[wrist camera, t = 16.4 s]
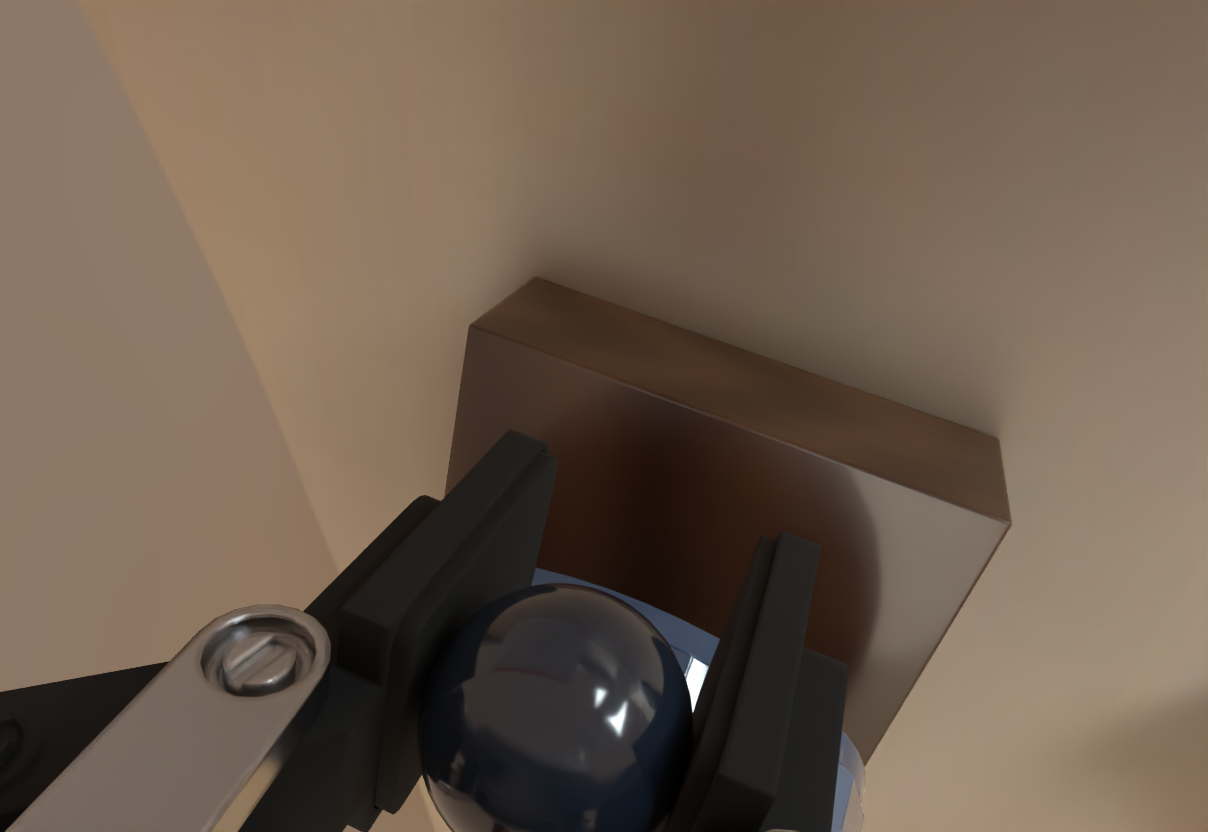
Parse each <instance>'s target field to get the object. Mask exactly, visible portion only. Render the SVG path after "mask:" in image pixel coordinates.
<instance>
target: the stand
mask: <svg viewBox="0 0 1208 832" xmlns="http://www.w3.org/2000/svg"><path fill="white" fill-rule="evenodd" d="M510 429H513V430H516V431H519V432H521V433H524V434H527V435H529V436H532V437H535V438H537V439H540V440H543V441H545V442H547V443H548V444H549V452H548V454H550V455H553V456H556V457H558V459H559V463H558V469H557V473H556V478H555V482H554V487H553V491H552V496H551V500H550V505H549V509H548V514H547V518H546V523H545V527H544V532H543V536H542V541H541V545H540V550H539V554H538V559H537V564H536V568H540V569H544V570H548V571H552V572H556V573H560V574H563V575H567V576H571V577H574V578H577V579H580V580H584V581H587V582H590V583H593V584H596V585H599V586H602V587H605V588H608V589H611V590H613V591H616V592H618V593H621V594H624V595H626V596H629V597H631V598H634V599H637V600H639V601H642V602H644V603H647V604H649V605H651V606H653V607H656V608H658V609H660V610H662V611H664V612H667V613H669V614H671V615H673V616H676V617H678V618H680V619H682V620H684V621H686V622H688V623H690V624H692V625H694V626H696V627H698V628H700V629H702V630H704V631H706V632H708V633H710V634H712V635H714V636H716V637H718V638H719V639H720V638H721V635H722V633H723V630H724V628H725V625H726V622H727V620H728V617H729V615H730V612H731V610H732V607H733V605H734V602H735V600H736V597H737V595H738V592H739V590H740V587H741V585H742V582H743V580H744V577H745V574H746V572H747V569H748V567H749V564H750V562H751V559H752V557H753V554H754V552H755V549H756V547H757V544H758V542H759V539H760V537H761V535H764V536H767V537H770V538H772V539H775V540H776V539H777V537H778V534H779V532H780V531H781V530H782V531H785V532H787V533H790V534H793V535H795V536H798V537H801V538H803V539H806V540H809V541H811V542H814V543H816V544H819V545H821V552H820V557H819V563H818V568H817V574H816V579H815V585H814V590H813V596H812V601H811V607H810V612H809V618H808V624H807V629H806V635H805V640H804V647H806V648H809V649H811V650H814V651H816V652H819V653H821V654H824V655H826V656H829V657H831V658H834V659H836V660H839V661H841V662H844V663H846V664H847V667H848V681H847V690H846V699H845V708H844V718H843V727H842V731H843V732H844V733H845V734H846V735H847V736H848V737H849V739H850V741H851V742H852V744H853V745H854V747H855V748H856V750H857V751H858V753H859V755H860V757H861V760H862V762H863V765H864V767H865V766H866V764H867V762H868V761H869V759H870V757H871V756H872V754H873V753H874V751H875V749H876V748H877V746H878V744H879V743H880V741H881V739H882V738H883V736H884V734H885V733H886V731H887V730H888V728H889V726H890V725H891V723H892V721H893V720H894V718H895V716H896V715H897V713H898V711H899V710H900V708H901V706H902V705H903V703H904V702H905V700H906V698H907V697H908V695H909V693H910V692H911V690H912V688H913V687H914V685H915V683H916V682H917V680H918V678H919V677H920V675H921V674H922V672H923V670H924V669H925V667H926V665H927V664H928V662H929V660H930V659H931V657H932V655H933V654H934V652H935V651H936V649H937V647H938V646H939V644H940V642H941V641H942V639H943V637H944V636H945V634H946V632H947V631H948V629H949V627H950V626H951V624H952V623H953V621H954V619H955V618H956V616H957V614H958V613H959V611H960V609H961V608H962V606H963V604H964V603H965V601H966V600H967V598H968V596H969V595H970V593H971V591H972V590H973V588H974V586H975V585H976V583H977V581H978V580H979V578H980V576H981V575H982V573H983V572H984V570H985V568H986V567H987V565H988V563H989V562H990V560H991V558H992V557H993V555H994V553H995V552H996V550H997V549H998V547H999V545H1000V544H1001V542H1002V540H1003V539H1004V537H1005V535H1006V534H1007V532H1008V530H1009V529H1010V527H1011V525H1012V520H1011V514H1010V507H1009V501H1008V494H1007V488H1006V481H1005V474H1004V468H1003V461H1002V455H1001V448H1000V442H999V439H997V438H995V437H992V436H989V435H986V434H984V433H981V432H978V431H975V430H972V429H969V428H966V427H963V426H961V425H958V424H955V423H952V422H949V421H946V420H943V419H941V418H938V417H935V416H932V415H929V414H926V413H923V412H920V411H918V410H915V409H912V408H909V407H906V406H903V405H900V404H898V403H895V402H892V401H889V400H886V399H883V398H880V397H878V396H875V395H872V394H869V393H866V392H863V391H860V390H857V389H855V388H852V387H849V386H846V385H843V384H840V383H837V382H835V381H832V380H829V379H826V378H823V377H820V376H817V375H815V374H812V373H809V372H806V371H803V370H800V369H797V368H794V367H792V366H789V365H786V364H783V363H780V362H777V361H774V360H772V359H769V358H766V357H763V356H760V355H757V354H754V353H751V352H749V351H746V350H743V349H740V348H737V347H734V346H731V345H729V344H726V343H723V342H720V341H717V340H714V339H711V338H709V337H706V336H703V335H700V334H697V333H694V332H691V331H688V330H686V329H683V328H680V327H677V326H674V325H671V324H668V323H666V322H663V321H660V320H657V319H654V318H651V317H648V316H645V315H643V314H640V313H637V312H634V311H631V310H628V309H625V308H623V307H620V306H617V305H614V304H611V303H608V302H605V301H603V300H600V299H597V298H594V297H591V296H588V295H585V294H582V293H580V292H577V291H574V290H571V289H568V288H565V287H562V286H560V285H557V284H554V283H551V282H548V281H545V280H542V279H539V278H537V277H534V278H532V279H531V280H530V281H528V282H527V283H525V284H524V285H523V286H521V287H520V288H519V289H517V290H516V291H515V292H513V293H512V294H511V295H509V296H508V297H506V298H505V299H504V300H502V301H501V302H500V303H498V304H497V305H496V306H494V307H493V308H492V309H490V310H489V311H487V312H486V313H485V314H483V315H482V316H481V317H479V318H478V319H477V320H475V321H474V322H473V323H471V324H470V325H469V329H468V336H467V343H466V350H465V357H464V364H463V371H462V378H461V385H460V392H459V399H458V406H457V413H456V420H455V427H454V434H453V441H452V448H451V454H450V461H449V468H448V475H447V482H446V489H445V496H444V498H445V497H446V495H447V494H448V493H449V492H450V491H451V490H452V489H453V488H454V487H455V486H456V485H457V484H458V483H459V482H460V481H461V480H462V478H463V477H464V476H465V475H466V474H467V473H468V472H469V471H470V470H471V469H472V468H473V467H474V466H475V465H476V464H477V463H478V461H479V460H480V459H481V458H482V457H483V456H484V455H485V454H486V453H487V452H488V451H489V450H490V449H491V448H492V447H493V446H494V445H495V443H496V442H497V441H498V440H499V439H500V438H501V437H502V436H503V435H504V434H505V433H506V432H507V431H508V430H510Z"/></svg>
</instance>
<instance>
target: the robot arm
mask: <svg viewBox="0 0 1208 832" xmlns="http://www.w3.org/2000/svg"><path fill="white" fill-rule="evenodd" d="M548 452H549V444H548V443H547V442H545V441H543V440H540V439H537V438H535V437H532V436H529V435H527V434H524V433H521V432H519V431H516V430H513V429H510V430H508V431H507V432H506V433H505V434H504V435H503V436H502V437H501V438H500V439H499V440H498V441H497V442H496V443H495V445H494V446H493V447H492V448H491V449H490V450H489V451H488V452H487V453H486V454H485V455H484V456H483V457H482V458H481V459H480V460H479V461H478V463H477V464H476V465H475V466H474V467H473V468H472V469H471V470H470V471H469V472H468V473H467V474H466V475H465V476H464V477H463V478H462V480H461V481H460V482H459V483H458V484H457V485H456V486H455V487H454V488H453V489H452V490H451V491H450V492H449V493H448V494H447V495H446V497H445V498H444V499H443V500H442V501H439V500H436V499H434V498H431V497H429V496H426V495H423V496H419V497H418V498H417V499H415V500H414V501H413V502H412V503H411V504H410V505H409V506H408V507H407V508H406V509H405V510H404V511H403V512H402V513H401V514H400V515H399V516H398V517H397V518H396V519H395V520H394V521H393V522H392V523H391V524H390V525H389V526H388V527H387V528H386V529H385V530H384V531H383V532H382V533H381V534H380V535H379V536H378V537H377V538H376V539H375V540H374V541H373V542H372V543H371V544H370V545H369V546H368V547H367V548H366V549H365V550H364V551H363V552H362V553H361V554H360V555H359V556H358V557H357V558H356V559H355V560H354V561H353V562H352V563H351V564H350V565H349V566H348V567H347V568H346V569H345V570H344V571H343V572H342V573H341V574H340V575H339V576H338V577H337V578H336V579H335V580H334V581H333V582H332V583H331V584H330V585H329V586H328V587H327V588H326V589H325V590H324V591H323V592H322V593H321V594H320V595H319V596H318V597H317V598H316V599H315V600H314V601H313V602H312V603H311V604H310V605H309V606H308V607H307V608H306V609H305V610H304V611H301V610H299V609H296V608H292V607H287V606H282V605H253V606H248V607H244V608H239V609H235V610H233V611H230V612H228V613H226V614H224V615H222V616H220V617H217V618H215V619H214V620H213V621H211V622H210V623H209V624H208V625H206V626H205V627H204V628H202V629H201V630H200V631H199V632H198V633H197V634H196V635H195V636H194V637H193V638H192V639H191V640H190V641H189V642H188V643H187V644H186V645H185V646H184V647H183V648H182V650H180V651H179V652H178V653H177V654H176V655H175V657H173V659H172V660H171V661H169V662H164V663H158V664H152V665H147V666H142V667H136V668H130V669H125V670H119V671H114V672H108V673H103V674H97V675H92V676H86V677H81V678H76V679H70V680H64V681H59V682H53V683H48V684H42V685H37V686H31V687H26V688H20V689H15V690H9V691H4V692H0V832H342V831H343V830H344V829H345V827H346V826H347V825H349V826H351V827H354V828H356V829H357V830H359V831H362V832H368V831H369V830H370V828H371V827H372V825H373V823H374V822H375V820H376V819H377V817H378V816H379V814H380V813H381V811H382V810H385V811H387V812H389V813H391V814H395V813H396V812H397V811H398V810H399V809H400V808H401V806H402V805H403V803H404V802H405V800H406V799H407V797H408V796H409V794H410V793H411V791H412V789H413V788H414V786H415V785H416V783H417V782H418V780H419V778H420V777H421V775H422V772H421V767H420V762H419V757H418V748H417V720H418V711H419V706H420V701H421V696H422V692H423V689H424V686H425V683H426V680H427V677H428V674H429V672H430V670H431V667H432V665H433V663H434V661H435V659H436V657H437V656H438V654H439V652H440V651H441V649H442V648H443V646H444V645H445V643H446V642H447V640H448V639H449V638H450V637H451V636H452V635H453V633H454V632H455V631H456V630H457V629H458V627H459V626H460V625H461V624H462V623H463V622H464V621H466V620H467V619H468V618H469V617H470V616H471V615H472V614H473V613H474V612H476V611H477V610H479V609H480V608H482V607H483V606H485V605H486V604H487V603H489V602H491V601H493V600H495V599H497V598H499V597H501V596H503V595H505V594H507V593H509V592H512V591H515V590H518V589H521V588H525V587H528V586H532V582H533V577H534V573H535V568H536V564H537V559H538V554H539V550H540V545H541V541H542V536H543V532H544V527H545V523H546V518H547V514H548V509H549V505H550V500H551V496H552V491H553V487H554V482H555V478H556V473H557V469H558V463H559V459H558V457H556V456H553V455H550V454H548ZM820 552H821V545H819V544H816V543H814V542H811V541H809V540H806V539H803V538H801V537H798V536H795V535H793V534H790V533H787V532H785V531H782V530H781V531H780V532H779V534H778V537H777V539H776V540H775V539H772V538H770V537H767V536H764V535H761V537H760V539H759V542H758V544H757V547H756V549H755V552H754V554H753V557H752V559H751V562H750V564H749V567H748V569H747V572H746V574H745V577H744V580H743V582H742V585H741V587H740V590H739V592H738V595H737V597H736V600H735V602H734V605H733V607H732V610H731V612H730V615H729V617H728V620H727V622H726V625H725V628H724V630H723V633H722V635H721V638H720V640H719V643H718V645H717V648H716V650H715V653H714V655H713V658H712V660H711V663H710V665H709V668H708V671H707V673H706V676H705V678H704V681H703V684H702V687H701V690H700V692H699V695H698V698H697V702H696V705H695V708H694V711H693V720H694V723H693V746H692V753H691V756H690V759H689V763H688V766H687V769H686V772H685V775H684V778H683V781H682V784H681V786H680V789H679V792H678V795H677V797H676V800H675V802H674V804H673V806H672V808H671V810H670V811H669V813H668V815H667V816H666V818H665V819H664V820H663V821H662V823H661V824H660V825H659V827H658V828H657V829H656V831H655V832H831V829H832V820H833V810H834V801H835V792H836V783H837V773H838V764H839V755H840V745H841V736H842V727H843V718H844V708H845V699H846V690H847V681H848V667H847V664H846V663H844V662H841V661H839V660H836V659H834V658H831V657H829V656H826V655H824V654H821V653H819V652H816V651H814V650H811V649H809V648H806V647H804V640H805V635H806V629H807V624H808V618H809V612H810V607H811V601H812V596H813V590H814V585H815V579H816V574H817V568H818V563H819V557H820Z"/></svg>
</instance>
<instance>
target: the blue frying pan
mask: <svg viewBox="0 0 1208 832" xmlns="http://www.w3.org/2000/svg"><path fill="white" fill-rule="evenodd" d="M719 640H720V639H719V638H718V637H716V636H714V635H712V634H710V633H708V632H706V631H704V630H702V629H700V628H698V627H696V626H694V625H692V624H690V623H688V622H686V621H684V620H682V619H680V618H678V617H676V616H673V615H671V614H669V613H667V612H664V611H662V610H660V609H658V608H656V607H653V606H651V605H649V604H647V603H644V602H642V601H639V600H637V599H634V598H631V597H629V596H626V595H624V594H621V593H618V592H616V591H613V590H611V589H608V588H605V587H602V586H599V585H596V584H593V583H590V582H587V581H584V580H580V579H577V578H574V577H571V576H567V575H563V574H560V573H556V572H552V571H548V570H544V569H540V568H535V573H534V577H533V582H532V586H528V587H525V588H521V589H518V590H515V591H512V592H509V593H507V594H505V595H503V596H501V597H499V598H497V599H495V600H493V601H491V602H489V603H487V604H486V605H485V606H483V607H482V608H480V609H479V610H477V611H476V612H474V613H473V614H472V615H471V616H470V617H469V618H468V619H467V620H466V621H464V622H463V623H462V624H461V625H460V626H459V627H458V629H457V630H456V631H455V632H454V633H453V635H452V636H451V637H450V638H449V639H448V640H447V642H446V643H445V645H444V646H443V648H442V649H441V651H440V652H439V654H438V656H437V657H436V659H435V661H434V663H433V665H432V667H431V670H430V672H429V674H428V677H427V680H426V683H425V686H424V689H423V692H422V696H421V701H420V706H419V711H418V720H417V748H418V757H419V762H420V767H421V772H422V776H423V779H424V781H425V784H426V787H427V790H428V793H429V795H430V797H431V799H432V801H433V803H434V805H435V807H436V809H437V811H438V813H439V814H440V816H441V817H442V819H443V820H444V822H445V823H446V824H447V826H448V827H449V829H450V830H451V831H452V832H655V831H656V829H657V828H658V827H659V825H660V824H661V823H662V821H663V820H664V819H665V818H666V816H667V815H668V813H669V811H670V810H671V808H672V806H673V804H674V802H675V800H676V797H677V795H678V792H679V789H680V786H681V784H682V781H683V778H684V775H685V772H686V769H687V766H688V763H689V759H690V756H691V753H692V746H693V723H694V720H693V711H694V708H695V705H696V702H697V698H698V695H699V692H700V690H701V687H702V684H703V681H704V678H705V676H706V673H707V671H708V668H709V665H710V663H711V660H712V658H713V655H714V653H715V650H716V648H717V645H718V643H719ZM865 784H866V777H865V768H864V765H863V762H862V760H861V757H860V755H859V753H858V751H857V750H856V748H855V747H854V745H853V744H852V742H851V741H850V739H849V737H848V736H847V735H846V734H845V733H844V732H843V731H842V736H841V745H840V755H839V764H838V773H837V783H836V792H835V801H834V810H833V820H832V829H831V832H861V829H862V824H863V819H864V815H863V811H862V807H861V803H862V798H863V793H864V789H865Z"/></svg>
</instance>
